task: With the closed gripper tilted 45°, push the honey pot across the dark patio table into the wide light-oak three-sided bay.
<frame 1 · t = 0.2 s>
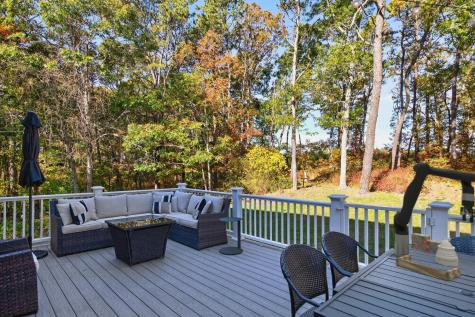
hand: (467, 221, 199), 28 cm above the table, tool pointing down, fingers open, 8 cm apart
stack of blocks: (426, 251, 224), on the table
oak bay: (430, 268, 183), on the table
honey pot: (446, 263, 194), on the table
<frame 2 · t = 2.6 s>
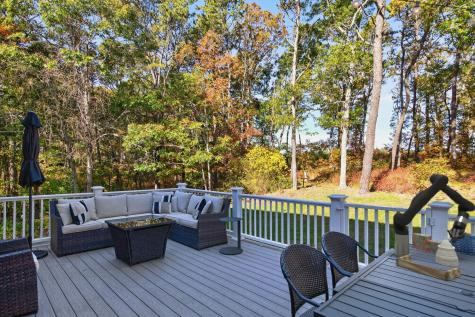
hand: (453, 242, 200), 13 cm above the table, tool tilted 45°, fingers closed
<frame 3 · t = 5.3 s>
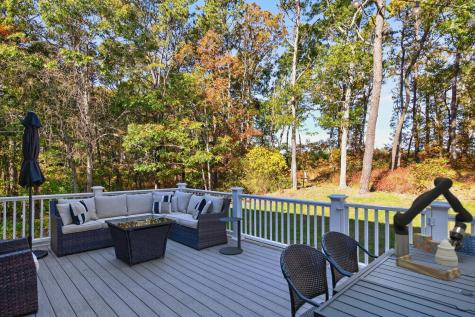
hand: (450, 253, 197), 6 cm above the table, tool tilted 45°, fingers closed
honey pot: (446, 263, 194), on the table, touching gripper
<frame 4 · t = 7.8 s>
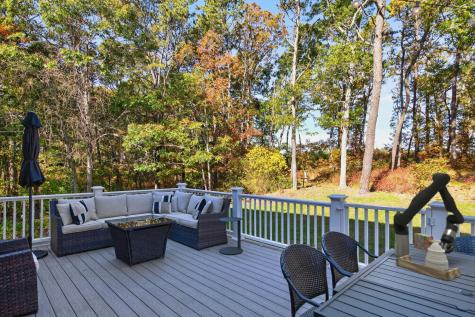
hand: (440, 256, 190), 6 cm above the table, tool tilted 45°, fingers closed
honey pot: (436, 267, 186), on the table, touching gripper
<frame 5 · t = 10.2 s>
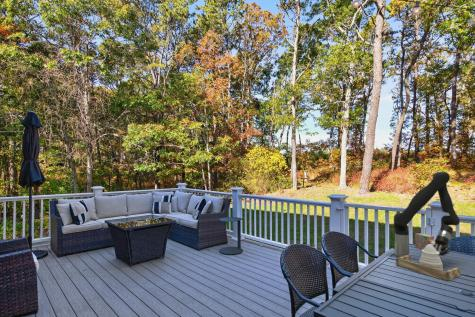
hand: (435, 258, 186), 6 cm above the table, tool tilted 45°, fingers closed
honey pot: (430, 269, 182), on the table, touching gripper
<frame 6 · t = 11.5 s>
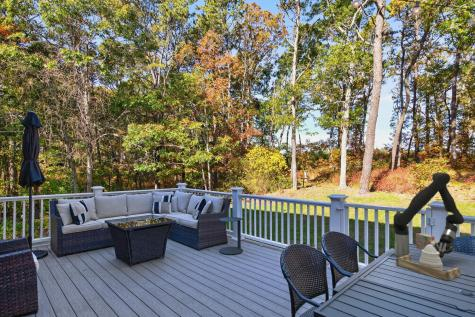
hand: (439, 257, 189), 6 cm above the table, tool tilted 45°, fingers closed
honey pot: (430, 269, 182), on the table
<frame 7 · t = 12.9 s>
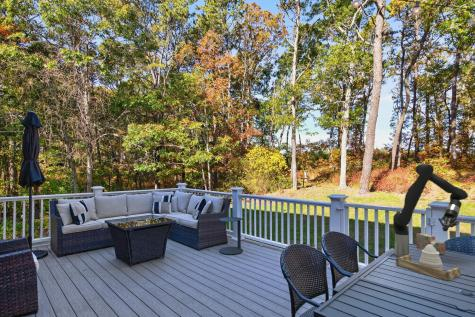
hand: (444, 230, 194), 23 cm above the table, tool tilted 45°, fingers closed
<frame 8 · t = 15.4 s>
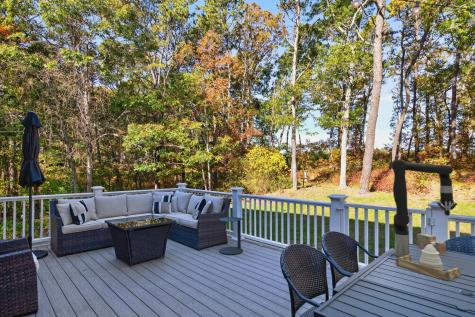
hand: (447, 215, 201), 33 cm above the table, tool pointing down, fingers closed
at the end: honey pot inside the target area on the oak bay (0.9 cm from its centre), point 0.0 cm above the oak bay's base; honey pot tilted 0° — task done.
